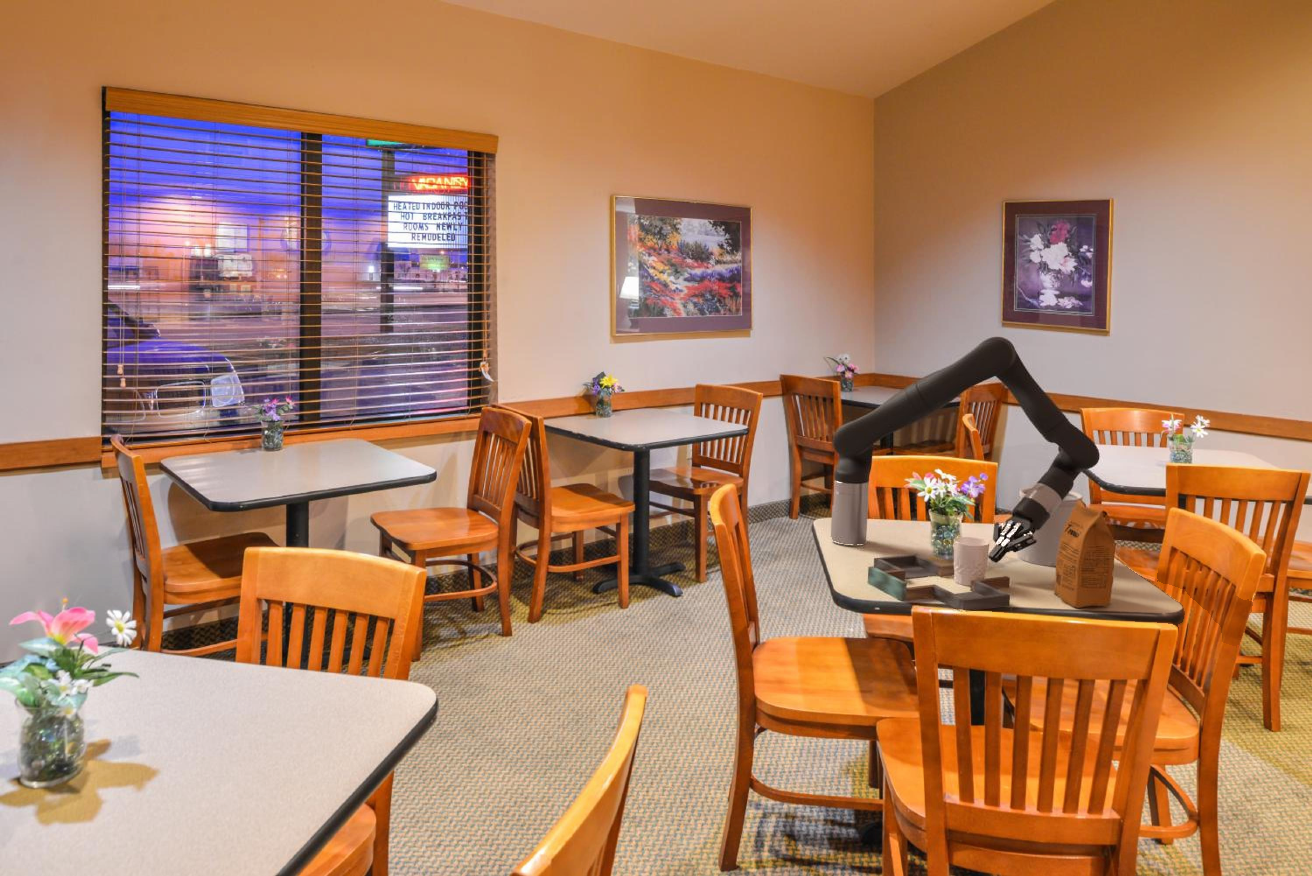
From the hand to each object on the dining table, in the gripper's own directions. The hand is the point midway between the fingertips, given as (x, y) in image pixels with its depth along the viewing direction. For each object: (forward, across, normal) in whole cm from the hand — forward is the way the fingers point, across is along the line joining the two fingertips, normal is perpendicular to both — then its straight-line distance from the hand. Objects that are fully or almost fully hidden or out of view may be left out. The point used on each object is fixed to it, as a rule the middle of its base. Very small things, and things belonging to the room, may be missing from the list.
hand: (992, 560), depth 218 cm
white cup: (+8, 0, -1) cm, 8 cm away
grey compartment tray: (+14, 0, -8) cm, 16 cm away
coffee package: (-2, +19, +10) cm, 22 cm away
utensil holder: (-15, -10, +22) cm, 28 cm away
